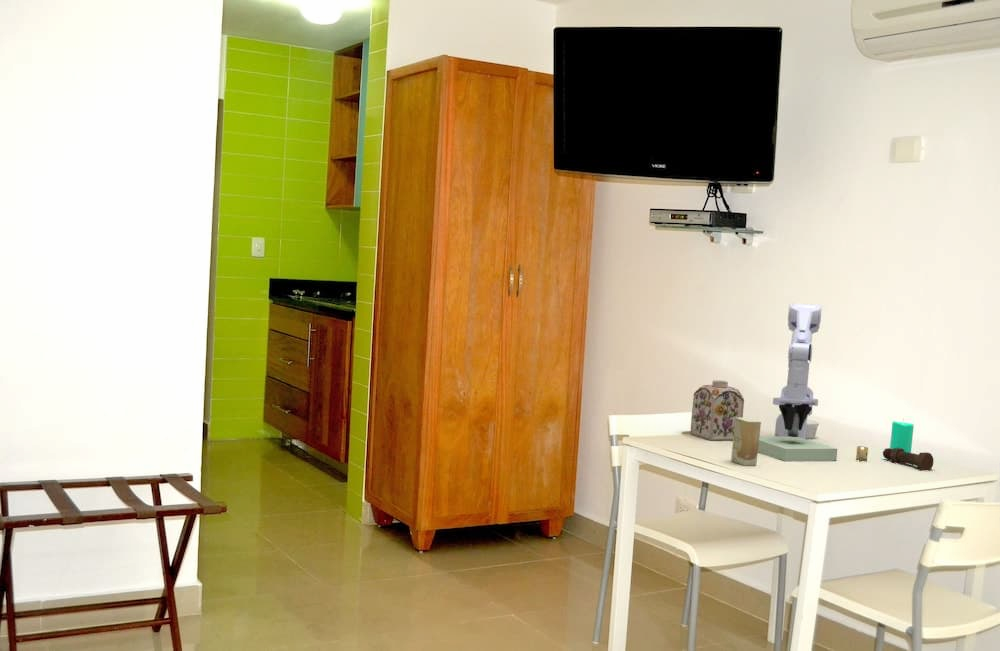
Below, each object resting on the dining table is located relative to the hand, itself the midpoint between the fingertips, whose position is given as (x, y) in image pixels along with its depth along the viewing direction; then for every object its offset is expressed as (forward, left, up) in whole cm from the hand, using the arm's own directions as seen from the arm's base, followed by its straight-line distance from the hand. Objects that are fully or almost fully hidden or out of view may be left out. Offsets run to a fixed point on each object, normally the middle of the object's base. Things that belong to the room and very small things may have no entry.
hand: (793, 429), depth 281 cm
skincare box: (+11, -24, -8) cm, 27 cm away
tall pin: (0, 0, -2) cm, 2 cm away
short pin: (+9, +18, -7) cm, 21 cm away
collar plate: (0, 0, -7) cm, 7 cm away
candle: (+5, +36, -8) cm, 37 cm away
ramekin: (-28, +25, -8) cm, 38 cm away
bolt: (+15, +29, -8) cm, 34 cm away
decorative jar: (-26, -9, -8) cm, 29 cm away
